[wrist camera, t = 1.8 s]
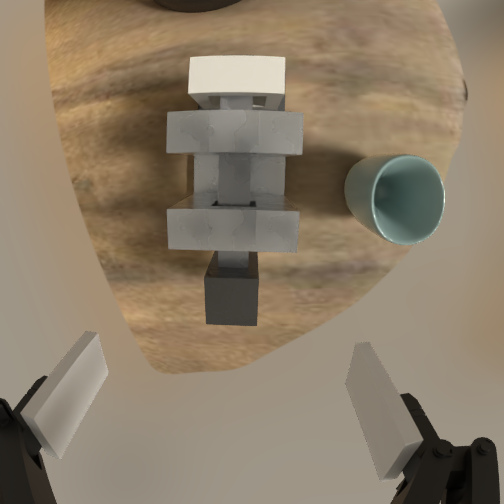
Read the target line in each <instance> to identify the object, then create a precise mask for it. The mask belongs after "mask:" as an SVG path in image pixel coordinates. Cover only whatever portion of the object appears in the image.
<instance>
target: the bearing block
mask: <svg viewBox="0 0 504 504" xmlns="http://www.w3.org/2000/svg"><path fill="white" fill-rule="evenodd" d="M302 149H303V113H299V112H285V111H266V110H194V111H175V112H168V114H167V148H166V153H171V154H183V155H194V194H192V195H190V196H188V197H187V198H185V199H183V200H181V201H180V202H178V203H176V204H174V205H173V206H171V207H169V208H168V209H167V229H168V249H178V250H216V251H254V252H292V253H297V244H298V229H299V213H300V212H299V211H298V209H297V208H296V207H295V206H294V205H293V204H292V203H291V202H290V201H289V200H288V199H287V198H286V197H285V196H284V187H285V162H286V157H290V156H297V155H302ZM219 153H251V182H250V207H240V206H218V177H219Z"/></svg>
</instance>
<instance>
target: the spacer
mask: <svg viewBox="0 0 504 504" xmlns="http://www.w3.org/2000/svg"><path fill="white" fill-rule="evenodd" d="M188 94H189V95H190V96H191V97H192V98H193V99H194V100H195V101H196V102H197V103H198V104H199V105H200V106H201V107H202V108H203V109H220V101H221V96H253V109H271V110H277V108H278V106H279V104H280V102H281V100H282V98H283V96H284V94H285V57H273V56H201V57H190V70H189V86H188Z"/></svg>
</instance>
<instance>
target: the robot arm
mask: <svg viewBox="0 0 504 504" xmlns="http://www.w3.org/2000/svg"><path fill="white" fill-rule="evenodd" d="M154 1H155V2H156V3H158V4H159V5H161V6H163V7H165V8H168V9H171V10H175V11H181V12H204V11H211V10H216V9H220V8H223V7H227V6H229V5H232V4H234V3H237V2H239V1H241V0H154ZM108 374H109V372H108V369H107V366H106V362H105V359H104V355H103V351H102V348H101V344H100V340H99V336H98V333H96V332H88V331H86V332H85V333H84V334H83V335H82V336H81V337H80V338H79V340H78V341H77V342H76V343H75V344H74V346H73V347H72V348H71V349H70V351H69V352H68V353H67V354H66V355H65V356H64V358H63V359H62V360H61V361H60V363H59V364H58V365H57V366H56V368H55V369H54V370H53V371H52V373H51V374H50V375H49V376H43V377H41V378H40V379H38V380H37V381H36V382H35V383H34V384H33V386H32V387H31V389H29V390H28V392H27V394H25V396H24V397H23V398H22V399H21V401H20V402H19V403H18V405H17V406H16V407H15V409H14V410H13V411H12V409H11V407H10V406H9V404H8V402H7V401H6V400H5V399H2V398H0V504H57V503H56V500H55V497H54V494H53V492H52V489H51V486H50V483H49V480H48V477H47V473H46V470H45V466H44V463H43V459H42V456H41V454H40V452H39V451H40V449H41V447H42V448H43V449H44V451H45V452H46V453H47V454H48V455H50V456H52V457H55V458H57V459H61V458H62V456H63V454H64V452H65V450H66V448H67V446H68V444H69V442H70V441H71V439H72V437H73V435H74V433H75V431H76V429H77V428H78V426H79V424H80V422H81V420H82V418H83V417H84V415H85V413H86V411H87V410H88V408H89V406H90V404H91V402H92V401H93V399H94V397H95V396H96V394H97V392H98V390H99V389H100V387H101V385H102V384H103V382H104V380H105V379H106V377H107V375H108ZM345 384H346V387H347V390H348V392H349V395H350V398H351V400H352V403H353V406H354V408H355V411H356V414H357V417H358V419H359V422H360V425H361V428H362V430H363V433H364V436H365V439H366V442H367V444H368V447H369V450H370V453H371V456H372V459H373V462H374V465H375V468H376V471H377V473H378V477H379V480H380V482H383V481H387V480H391V479H395V478H397V477H398V476H399V474H400V473H401V472H402V471H403V474H404V476H405V478H404V479H403V481H402V482H401V483H400V484H399V485H398V487H397V488H396V489H397V492H396V494H395V496H394V498H393V500H392V502H391V504H439V503H440V501H441V504H500V489H499V473H498V461H497V452H496V447H495V444H494V443H493V442H492V441H491V440H490V439H488V438H485V437H481V438H477V439H475V440H474V441H473V443H472V444H471V445H470V446H458V447H455V446H453V445H452V444H451V443H450V442H448V441H446V440H443V439H440V438H439V437H438V435H437V433H436V432H435V430H434V428H433V426H432V425H431V423H430V421H429V419H428V418H427V416H425V412H424V411H423V409H422V407H421V406H420V404H419V402H418V400H417V399H416V398H414V397H413V396H412V395H411V394H409V393H406V394H401V395H399V393H398V391H397V389H396V387H395V386H394V384H393V382H392V381H391V379H390V377H389V375H388V373H387V372H386V370H385V368H384V366H383V365H382V363H381V361H380V359H379V358H378V356H377V354H376V353H375V351H374V349H373V347H372V346H371V344H370V343H369V342H365V343H364V342H363V343H356V344H355V347H354V352H353V356H352V360H351V364H350V368H349V372H348V375H347V379H346V383H345Z"/></svg>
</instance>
